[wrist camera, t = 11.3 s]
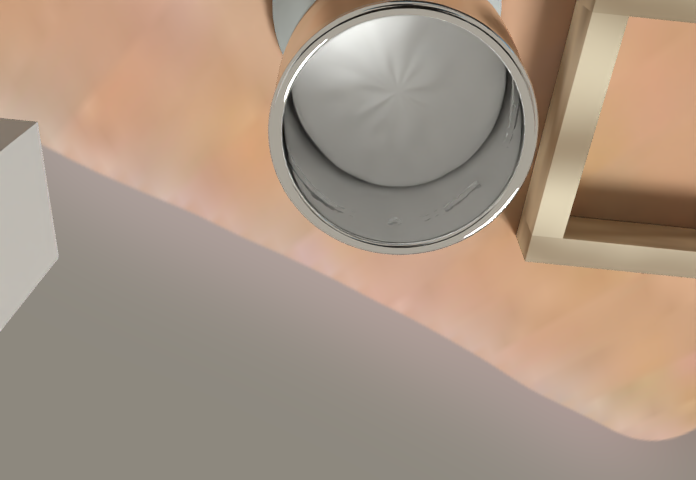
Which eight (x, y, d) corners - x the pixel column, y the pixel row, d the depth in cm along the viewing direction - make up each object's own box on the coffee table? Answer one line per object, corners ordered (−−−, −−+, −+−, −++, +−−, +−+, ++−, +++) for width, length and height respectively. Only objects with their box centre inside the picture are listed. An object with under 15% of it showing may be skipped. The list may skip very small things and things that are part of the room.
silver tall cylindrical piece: (441, -104, 27) (501, -64, 14) (491, 56, 30) (578, 213, 17) (286, -34, 28) (207, 62, 15) (348, 112, 31) (327, 294, 18)
